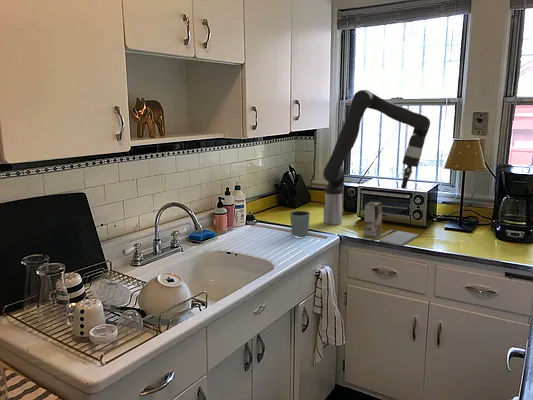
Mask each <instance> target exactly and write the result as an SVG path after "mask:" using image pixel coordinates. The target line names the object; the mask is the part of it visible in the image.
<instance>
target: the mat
mask: <svg viewBox="0 0 533 400" xmlns="http://www.w3.org/2000/svg"><path fill="white" fill-rule="evenodd" d="M418 237H419V234H417V233H412V232H407V231H401V230H396V231H395V232H394V231H393V232H392V233H391V234H388V235H387V236H385V237H383V238H381V239H379V243H382V242H383V243H384V244H388V245H391V246H398V247H402V246H404V245H405V244H408V243H409V242H410V241H412V240H414V239H416V238H418Z"/></svg>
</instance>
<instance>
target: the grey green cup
mask: <svg viewBox="0 0 533 400" xmlns="http://www.w3.org/2000/svg"><path fill="white" fill-rule="evenodd" d="M310 214H311V213H310V212H309V211H306V210H296V211H295V210H294V211H291V212H290V213H289V217H290V218H289V219H290V228H291V236H292V235H294V236H298V237H305V236H307V235H308V236H309V234H308V232H309V230H310V229H309V227H310V218H311V217H310ZM309 233H310V232H309Z"/></svg>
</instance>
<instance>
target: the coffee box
mask: <svg viewBox="0 0 533 400" xmlns="http://www.w3.org/2000/svg"><path fill="white" fill-rule="evenodd" d="M382 215H383V202H381V201H369V202H368V203H365V204H364V225H363V226H364V227H363V228H364V229H363V231H364V232H363V234H364V235H363V236H368V237H369V236H370V237H374V238H376V237H377V236H379V234H381V233H382V218H383V216H382Z"/></svg>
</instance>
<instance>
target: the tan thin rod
mask: <svg viewBox="0 0 533 400" xmlns="http://www.w3.org/2000/svg"><path fill="white" fill-rule="evenodd" d="M393 232H394V229H389V230H387V231H386V232H384V233H382V234H381V233H380V235H379V234H378V235H377V236H376V237H374V238H371V239H370V242H375V241H376V239H377V240H380V238H381V239H382V237H383V238H384V236H385V237H386V235H387V236H388V235H389V234H390V233H393ZM374 240H375V241H374Z"/></svg>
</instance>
